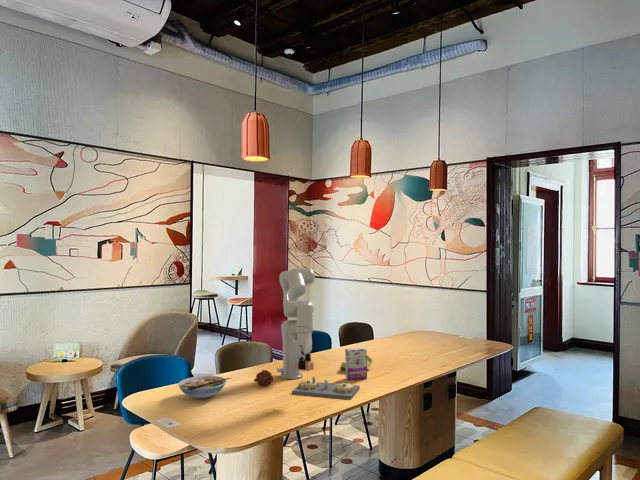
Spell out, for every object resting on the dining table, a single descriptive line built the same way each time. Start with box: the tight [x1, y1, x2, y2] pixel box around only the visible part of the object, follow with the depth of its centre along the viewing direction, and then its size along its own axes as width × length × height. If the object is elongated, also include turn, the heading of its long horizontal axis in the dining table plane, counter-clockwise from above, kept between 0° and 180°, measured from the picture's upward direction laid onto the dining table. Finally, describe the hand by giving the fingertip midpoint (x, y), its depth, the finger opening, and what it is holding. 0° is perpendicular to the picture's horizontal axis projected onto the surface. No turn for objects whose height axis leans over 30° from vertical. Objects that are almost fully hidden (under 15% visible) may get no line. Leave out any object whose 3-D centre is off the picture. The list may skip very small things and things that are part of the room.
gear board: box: [291, 376, 361, 400], centre depth 232 cm, size 30×18×6 cm, turn 72°
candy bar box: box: [344, 347, 368, 381], centre depth 255 cm, size 11×5×16 cm, turn 105°
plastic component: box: [339, 354, 374, 371], centre depth 275 cm, size 20×7×10 cm
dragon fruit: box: [253, 369, 274, 387], centre depth 243 cm, size 8×8×12 cm
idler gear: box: [296, 360, 315, 372], centre depth 217 cm, size 8×7×3 cm
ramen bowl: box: [178, 375, 231, 400], centre depth 224 cm, size 25×23×8 cm
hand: (304, 366), depth 217 cm, fingers closed on idler gear, 6 cm apart
